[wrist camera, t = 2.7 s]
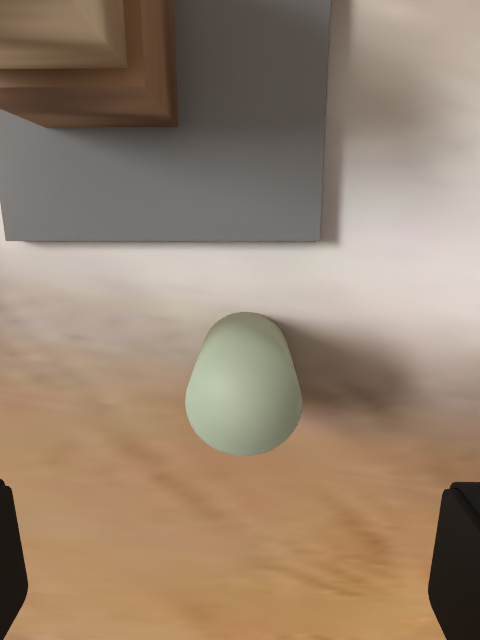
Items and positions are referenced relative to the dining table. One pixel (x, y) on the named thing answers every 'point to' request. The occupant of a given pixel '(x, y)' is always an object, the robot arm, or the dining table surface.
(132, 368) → the dining table surface
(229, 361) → the pale green rounded piece
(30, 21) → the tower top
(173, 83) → the tower base
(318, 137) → the slate board
